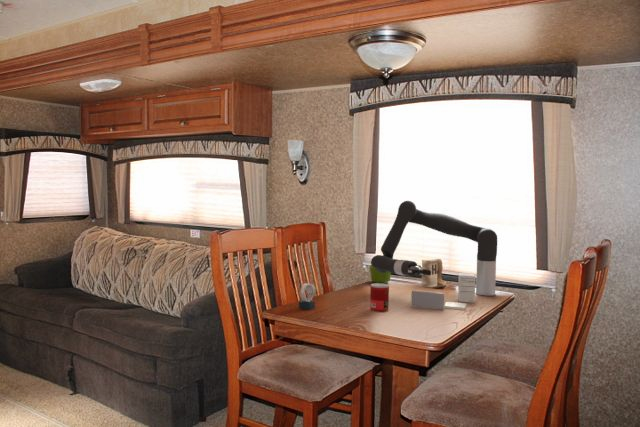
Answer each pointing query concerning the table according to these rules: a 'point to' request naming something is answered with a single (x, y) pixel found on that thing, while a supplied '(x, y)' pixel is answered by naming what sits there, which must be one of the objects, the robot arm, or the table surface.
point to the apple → (379, 276)
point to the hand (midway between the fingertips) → (434, 272)
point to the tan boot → (439, 274)
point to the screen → (427, 300)
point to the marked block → (431, 279)
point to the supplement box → (466, 287)
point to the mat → (455, 305)
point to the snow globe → (307, 303)
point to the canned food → (379, 297)
